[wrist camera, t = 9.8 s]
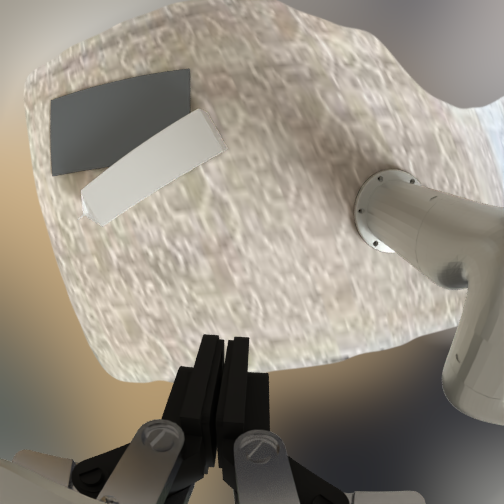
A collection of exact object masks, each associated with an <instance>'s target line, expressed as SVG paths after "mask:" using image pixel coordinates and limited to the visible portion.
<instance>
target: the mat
mask: <svg viewBox="0 0 504 504" xmlns="http://www.w3.org/2000/svg"><path fill="white" fill-rule="evenodd" d="M189 113H190V69H182V70H174V71H167V72H161V73H155V74H149V75H144V76H138V77H133V78H129V79H124V80H120V81H115V82H111V83H107V84H103V85H99V86H95V87H92V88H88V89H85V90H81V91H78V92H75V93H72V94H68V95H65V96H62V97H59V98H57V99H54V100H51V162H52V176H57V175H62V174H67V173H73V172H78V171H84V170H90V169H97V168H103V167H110V166H112V165H113V164H114V163H116V162H117V161H118V160H120V159H121V158H122V157H124V156H125V155H127V154H128V153H129V152H131V151H132V150H134V149H135V148H136V147H138V146H139V145H141V144H142V143H144V142H145V141H147V140H148V139H150V138H151V137H153V136H154V135H156V134H157V133H159V132H160V131H162V130H163V129H165V128H167V127H168V126H170V125H171V124H173V123H175V122H176V121H178V120H179V119H181V118H183V117H184V116H186V115H188V114H189Z"/></svg>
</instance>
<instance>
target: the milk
mask: <svg viewBox="0 0 504 504" xmlns="http://www.w3.org/2000/svg"><path fill="white" fill-rule="evenodd" d="M227 149H228V148H227V146H226V144H225V142H224V140H223V139H222V137H221V135H220V133H219V132H218V130H217V128H216V126H215V124H214V123H213V121H212V119H211V117H210V116H209V114H208V112H207V111H204V110H202V109H199V108H198V109H196V110H195V111H193V112H191V113H189V114H188V115H186V116H184V117H183V118H181V119H179V120H178V121H176V122H175V123H173V124H171V125H170V126H168V127H167V128H165V129H163V130H162V131H160V132H159V133H157V134H156V135H154V136H153V137H151V138H150V139H148V140H147V141H145V142H144V143H142V144H141V145H139V146H138V147H136V148H135V149H134V150H132V151H131V152H129V153H128V154H127V155H125V156H124V157H122V158H121V159H120V160H118V161H117V162H116V163H114V164H113V165H112V166H110V167H109V168H108V169H106V170H105V171H104V172H103V173H101V174H100V175H99V176H98V177H96V178H95V179H94V180H93V181H91V182H90V183H89V184H88V185H86V186H85V187H84V188H83V189H82V190H81V199H82V209H83V215H82V216H81V217H79V218H78V219H80V218H82V217H83V216H86V217H87V218H89V219H91V220H92V221H94V222H95V223H97V224H99V225H100V226H102V227H103V226H105V225H106V224H108V223H109V222H110V221H112V220H113V219H115V218H116V217H118V216H119V215H120V214H122V213H123V212H125V211H126V210H128V209H129V208H131V207H132V206H134V205H135V204H137V203H138V202H140V201H141V200H143V199H145V198H146V197H148V196H149V195H151V194H152V193H154V192H156V191H157V190H159V189H160V188H162V187H164V186H165V185H167V184H168V183H170V182H172V181H173V180H175V179H177V178H178V177H180V176H182V175H183V174H185V173H187V172H189V171H190V170H192V169H194V168H195V167H197V166H199V165H201V164H202V163H204V162H206V161H208V160H210V159H211V158H213V157H215V156H217V155H219V154H220V153H222V152H224V151H225V150H227Z"/></svg>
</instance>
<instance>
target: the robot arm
mask: <svg viewBox="0 0 504 504" xmlns="http://www.w3.org/2000/svg"><path fill="white" fill-rule="evenodd" d="M378 177H379V180H378ZM410 180H411V182H410ZM359 209H361V211H360V212H358V211H359ZM354 218H355V223H356V227H357V230H358V232H359V234H360V236H361V237H362V238H363V240H364V241H365V242H366V243H367V244H368V245H370V246H371V247H372V248H374V249H376V250H378V251H380V252H385V253H395V252H396V253H397V254H398V255H399V256H401V257H402V258H403V259H405V260H406V261H407V262H408V263H410V264H411V265H412V266H413V267H414V268H416V269H417V270H418V271H419V272H421V273H422V274H423V275H424V276H426V277H427V278H428V279H429V280H431V281H432V282H433V283H434V284H436V285H437V286H439V287H442V288H444V289H448V290H461V289H466V288H468V291H467V296H466V300H465V304H464V307H463V313H462V316H461V319H460V322H459V325H458V328H457V331H456V334H455V337H454V340H453V343H452V345H451V348H450V351H449V354H448V356H447V359H446V362H445V365H444V369H443V374H442V386H443V390H444V393H445V395H446V397H447V398H448V400H449V401H450V403H451V404H452V405H453V406H454V407H455V408H457V409H458V410H460V411H461V412H462V413H464V414H466V415H468V416H470V417H473V418H475V419H478V420H482V421H485V422H489V423H494V424H499V425H504V207H498V206H493V205H488V204H484V203H480V202H476V201H473V200H469V199H466V198H463V197H459V196H455V195H452V194H448V193H445V192H441V191H438V190H434V189H430V188H427V187H423V186H422V185H421V184H420V182H419V181H418V180H417V179H416V178H415V177H414V176H412V175H411V174H409V173H407V172H405V171H401V170H396V169H388V170H383V171H380V172H378V173H376V174H374V175H373V176H371V177H370V178H369V179H368V180H367V181H366V182H365V183H364V184H363V186H362V187H361V189H360V191H359V193H358V195H357V198H356V202H355V208H354ZM374 241H375V243H374ZM248 353H249V337H234V340H228V346H227V352H226V358H225V364H224V340H221V339H219V336H218V335H207V334H204V335H203V338H202V341H201V344H200V348H199V351H198V354H197V358H196V361H195V365H194V368H193V367H184V366H180V367H179V370H178V372H177V375H176V378H175V381H174V384H173V387H172V390H171V393H170V396H169V398H168V402H167V404H166V407H165V410H164V413H163V416H162V419H159V420H152V421H149V422H147V423H145V424H143V425H142V426H141V427H140V428H139V430H138V431H137V433H136V434H135V436H134V438H133V439H132V441H131V443H129V444H126V445H124V446H121V447H119V448H116V449H114V450H111V451H109V452H106V453H103V454H100V455H98V456H95V457H92V458H89V459H87V460H84V461H82V462H80V463H78V462H74V461H73V459H68V458H61V457H57V456H53V455H48V454H43V453H39V452H36V451H31V450H21V451H19V452H18V453H16V454H15V456H14V457H13V459H12V462H10V461H7V460H4V459H1V458H0V504H188V502H189V499H190V496H191V494H192V491H193V489H194V485H195V482H197V481H199V480H200V479H202V478H203V477H204V474H208V468H209V467H214V465H215V459H216V451H218V463H219V468H222V472H223V480H224V481H225V482H226V483H227V484H228V485H229V486H230V487H232V488H233V492H234V501H235V504H425V500H424V498H423V497H422V496H421V494H419V493H417V492H415V491H394V492H357V491H356V492H354V493H343V492H342V491H341V490H339V489H338V488H336V487H334V486H333V485H331V484H329V483H328V482H326V481H325V480H323V479H321V478H320V477H318V476H317V475H315V474H314V473H312V472H311V471H309V470H308V469H306V468H305V467H303V466H302V465H300V464H299V463H297V462H296V461H294V460H293V459H292V458H290V457H288V456H287V452H286V449H285V445H284V443H283V441H282V439H281V438H280V437H279V436H277V435H276V434H274V433H272V432H270V415H269V375H268V373H254V372H247V371H248Z"/></svg>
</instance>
